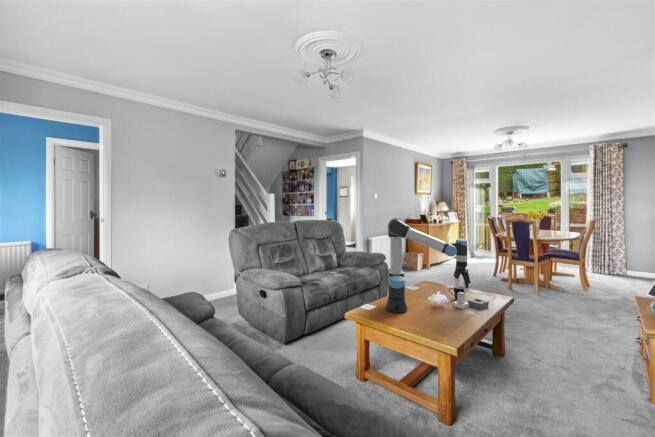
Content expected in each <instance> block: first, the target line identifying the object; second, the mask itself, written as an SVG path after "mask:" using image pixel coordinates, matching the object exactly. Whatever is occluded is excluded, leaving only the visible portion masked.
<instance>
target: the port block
mask: <svg viewBox="0 0 655 437" xmlns="http://www.w3.org/2000/svg"><path fill="white" fill-rule="evenodd" d="M467 303H469V307H470V308H474V309H477V310H484V309H486V308H489V300H485V299H482V298H478V297H473V298H470V299H468V300H467Z"/></svg>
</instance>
